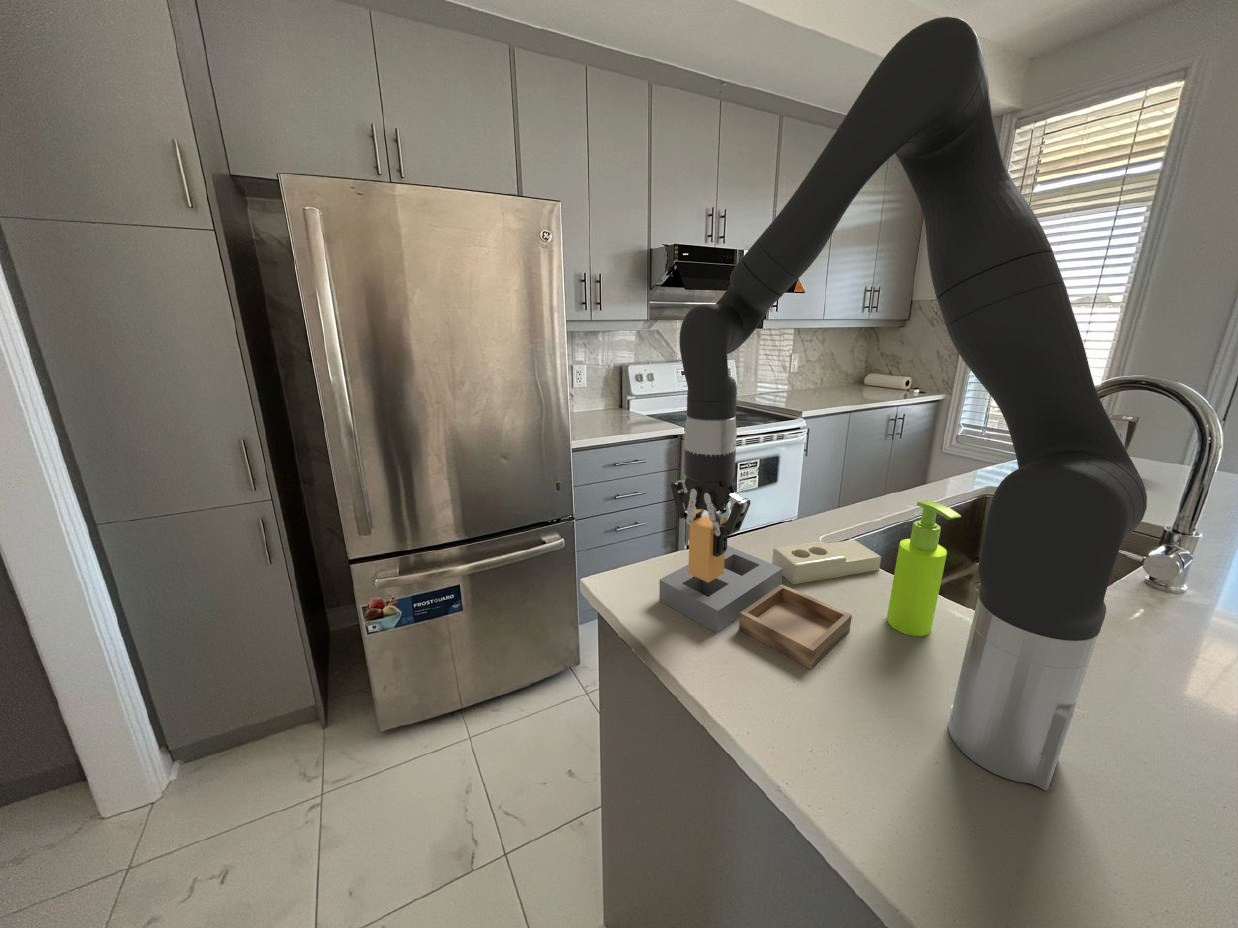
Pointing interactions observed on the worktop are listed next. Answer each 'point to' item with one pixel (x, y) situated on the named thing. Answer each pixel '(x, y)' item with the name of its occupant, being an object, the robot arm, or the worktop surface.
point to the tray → (795, 624)
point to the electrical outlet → (824, 560)
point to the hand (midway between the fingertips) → (706, 549)
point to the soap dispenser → (919, 573)
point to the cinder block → (720, 589)
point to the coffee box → (1124, 428)
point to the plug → (703, 551)
